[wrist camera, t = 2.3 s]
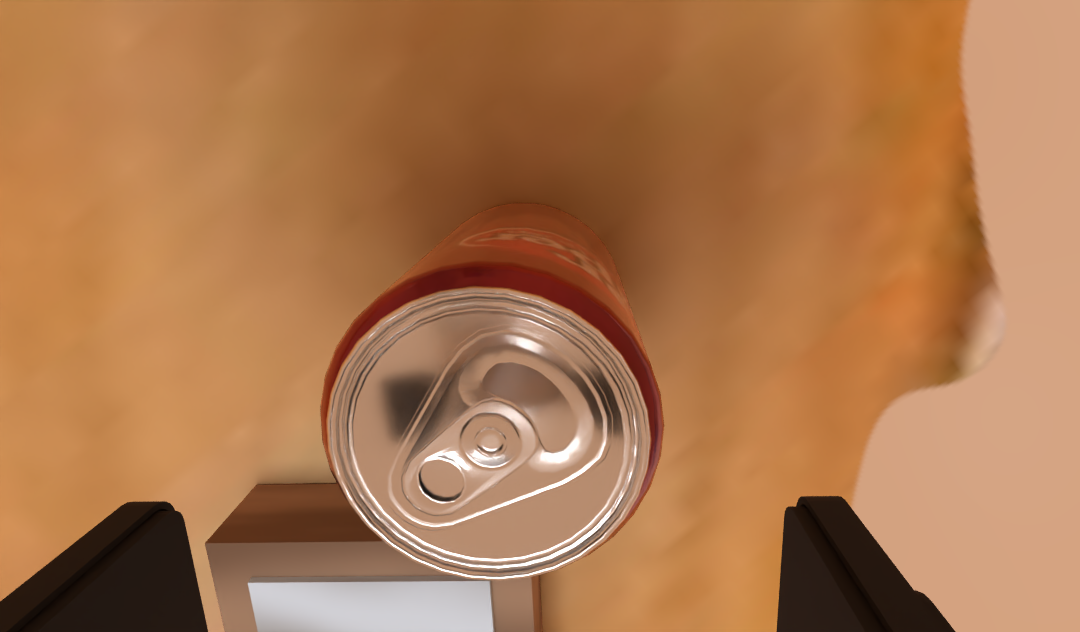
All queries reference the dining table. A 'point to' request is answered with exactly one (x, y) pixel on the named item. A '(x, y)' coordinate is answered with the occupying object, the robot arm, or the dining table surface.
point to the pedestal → (344, 574)
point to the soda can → (496, 401)
